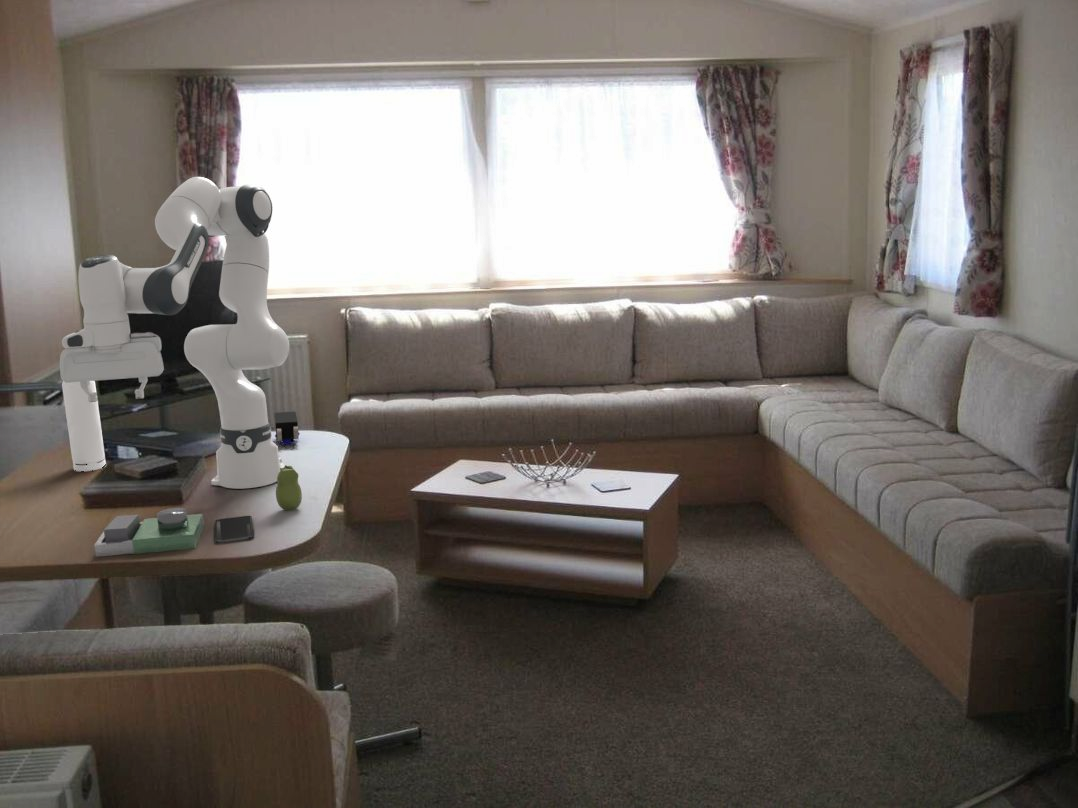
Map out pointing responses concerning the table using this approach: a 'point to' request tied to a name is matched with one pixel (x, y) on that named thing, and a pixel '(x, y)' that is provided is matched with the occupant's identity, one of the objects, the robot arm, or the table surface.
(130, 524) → the grey rectangular cuboid
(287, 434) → the figurine character
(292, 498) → the pear
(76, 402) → the bottle
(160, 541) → the multicoloured piece
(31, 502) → the table surface
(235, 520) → the phone
